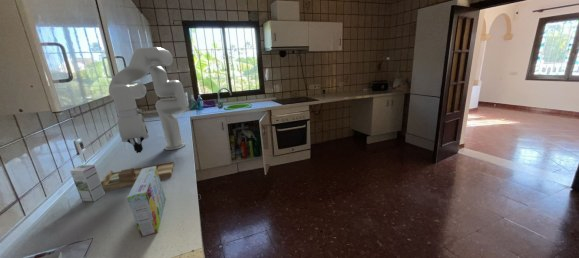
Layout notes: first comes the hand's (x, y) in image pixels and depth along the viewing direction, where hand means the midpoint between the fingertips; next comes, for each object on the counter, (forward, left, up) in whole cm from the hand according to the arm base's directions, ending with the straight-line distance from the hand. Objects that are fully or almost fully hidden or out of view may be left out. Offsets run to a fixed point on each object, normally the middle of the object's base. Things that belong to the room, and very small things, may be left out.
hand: (139, 151), depth 108 cm
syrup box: (+9, -18, -14) cm, 25 cm away
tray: (-3, -3, -14) cm, 15 cm away
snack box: (+34, +9, -15) cm, 38 cm away
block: (+1, -7, -12) cm, 14 cm away
